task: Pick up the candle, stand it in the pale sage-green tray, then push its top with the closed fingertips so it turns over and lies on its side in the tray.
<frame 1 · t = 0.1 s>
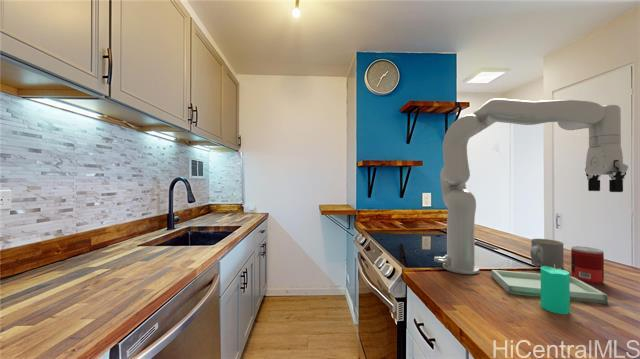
hand: (604, 191, 90), 31 cm above the counter, tool pointing down, fingers open, 9 cm apart
tray: (542, 288, 84), on the counter
canned food: (587, 280, 91), on the counter
coffee mug: (543, 266, 108), on the counter
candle: (554, 309, 71), on the counter
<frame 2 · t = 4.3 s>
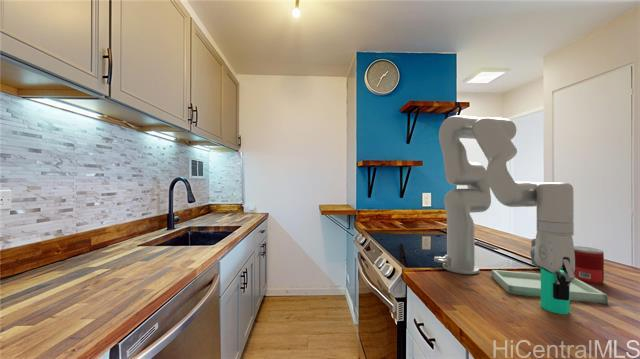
hand: (554, 294, 71), 4 cm above the counter, tool pointing down, fingers closed on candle, 4 cm apart
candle: (554, 309, 71), on the counter, touching gripper
everything else where it was.
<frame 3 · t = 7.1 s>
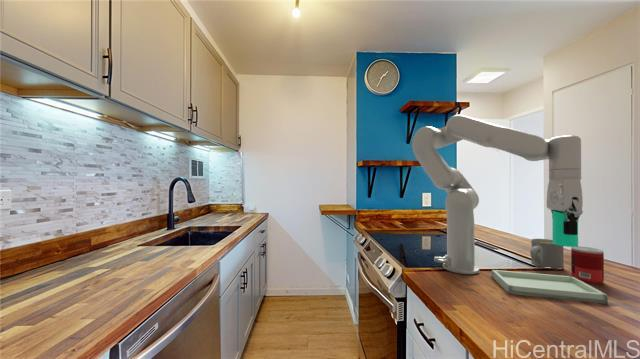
hand: (564, 232, 83), 19 cm above the counter, tool pointing down, fingers closed on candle, 4 cm apart
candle: (565, 245, 83), point 14 cm above the counter, touching gripper
everything else where it was.
when the fingers open (5 cm above the counter, at t = 9.8 s): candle stays where it is, resting on tray.
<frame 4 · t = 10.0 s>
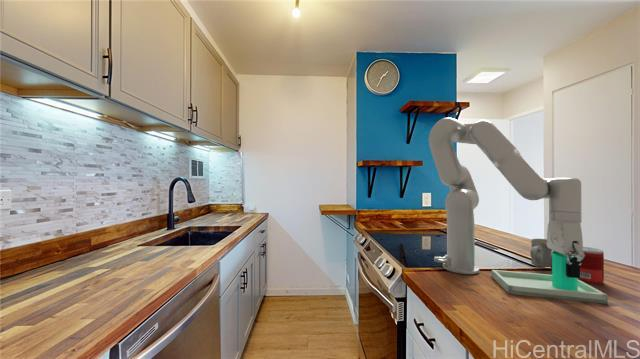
hand: (564, 272, 83), 6 cm above the counter, tool pointing down, fingers open, 7 cm apart
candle: (564, 288, 83), point 1 cm above the counter, touching tray
everything else where it was.
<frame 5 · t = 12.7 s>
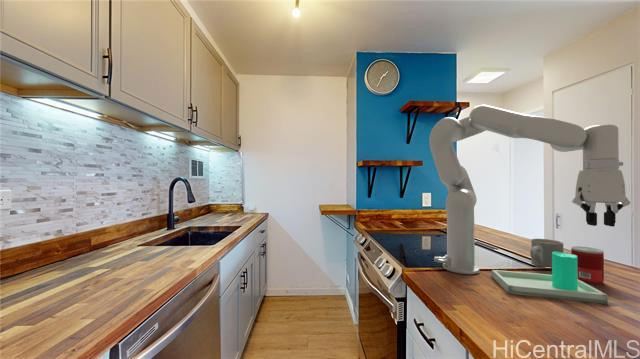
hand: (600, 224, 80), 21 cm above the counter, tool pointing down, fingers open, 3 cm apart
nothing on the counter moved.
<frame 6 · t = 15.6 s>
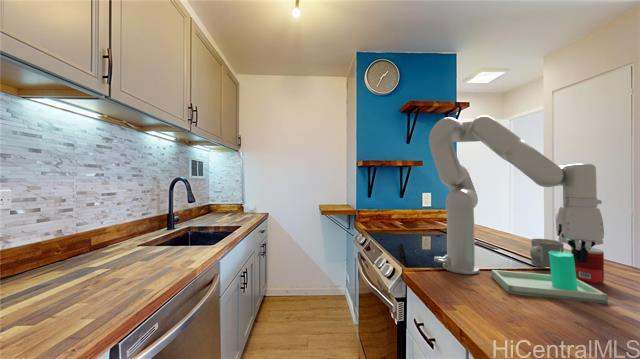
hand: (580, 262, 81), 9 cm above the counter, tool pointing down, fingers closed
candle: (564, 287, 83), point 1 cm above the counter, touching gripper, tray
everything else where it was.
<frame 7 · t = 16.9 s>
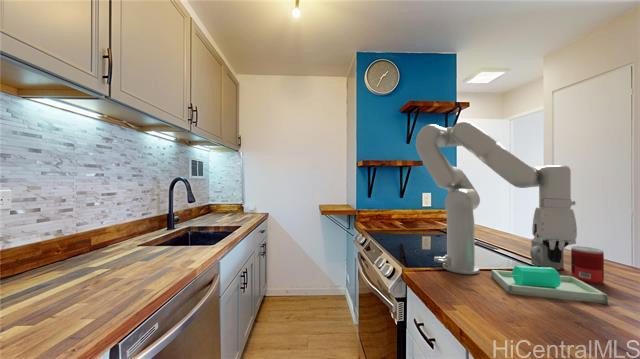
hand: (554, 261, 83), 9 cm above the counter, tool pointing down, fingers closed
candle: (554, 277, 83), point 4 cm above the counter, touching tray
everything else where it was.
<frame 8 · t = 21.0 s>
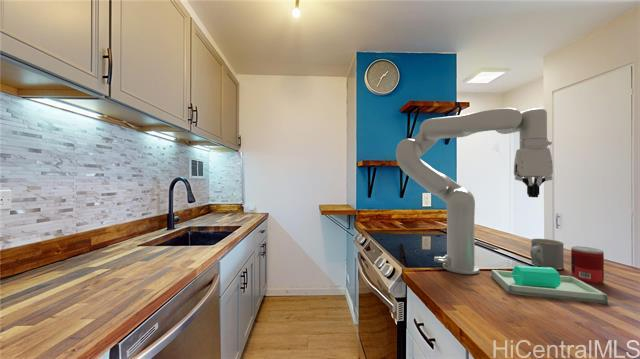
hand: (533, 197, 92), 29 cm above the counter, tool pointing down, fingers closed
nothing on the counter moved.
at the end: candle tilted 90°; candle inside the target area on the tray (3.2 cm from its centre), point 3.9 cm above the tray's base; the gripper is holding nothing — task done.
